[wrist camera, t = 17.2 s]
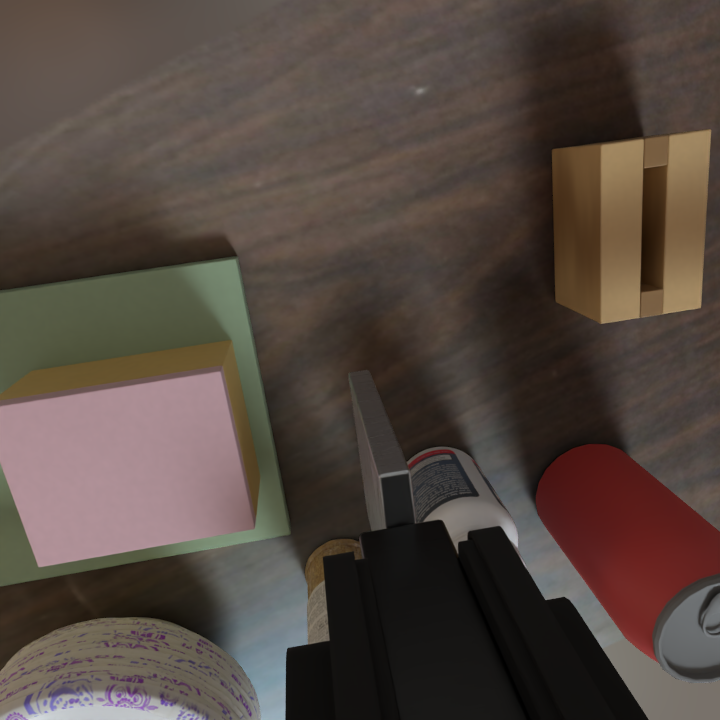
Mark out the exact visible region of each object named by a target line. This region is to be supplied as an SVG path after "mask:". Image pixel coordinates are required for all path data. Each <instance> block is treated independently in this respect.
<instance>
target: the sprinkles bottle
mask: <svg viewBox="0 0 720 720" xmlns="http://www.w3.org/2000/svg"><path fill="white" fill-rule="evenodd" d="M352 551H354V556H355V560H358V559H362V555H361V548H360V542H359V541H355V540H353V539H336V540H331V541H328V542H326V543H325V544H323V545H321V546H320V547H318V548H317V549H316V550H315V551H314V552H313V553H312V554H311V556H310V557H309V558H308V561H307V564H306V568H305V578H306V582H307V584H308V604H307V621H308V644H313V643H318V642H324V641H329V629H328V616H327V604H326V592H325V580H324V568H323V557H324V556H329V555H335V554H341V553H346V552H352Z"/></svg>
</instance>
